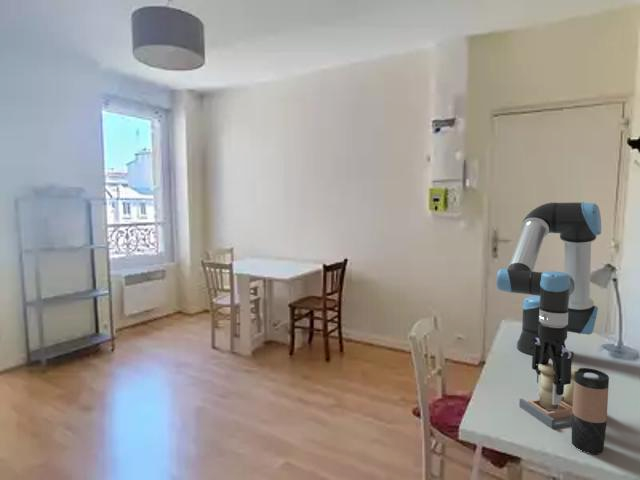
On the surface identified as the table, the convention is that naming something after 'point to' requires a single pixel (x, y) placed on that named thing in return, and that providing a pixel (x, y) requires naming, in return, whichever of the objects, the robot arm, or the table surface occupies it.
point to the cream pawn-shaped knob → (546, 385)
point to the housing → (554, 416)
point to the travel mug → (589, 410)
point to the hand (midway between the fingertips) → (549, 399)
